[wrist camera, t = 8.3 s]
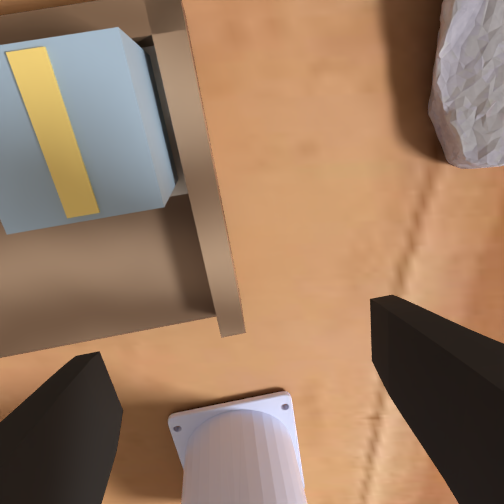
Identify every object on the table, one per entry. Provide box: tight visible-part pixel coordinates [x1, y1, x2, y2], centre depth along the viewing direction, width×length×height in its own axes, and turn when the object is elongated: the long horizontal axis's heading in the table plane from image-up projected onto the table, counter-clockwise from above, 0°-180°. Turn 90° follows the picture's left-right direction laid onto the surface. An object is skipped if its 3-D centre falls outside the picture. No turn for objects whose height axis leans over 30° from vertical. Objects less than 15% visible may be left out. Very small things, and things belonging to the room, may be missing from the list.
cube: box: [0, 27, 178, 235], centre depth 12 cm, size 5×5×5 cm
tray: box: [0, 0, 246, 358], centre depth 16 cm, size 14×14×3 cm
